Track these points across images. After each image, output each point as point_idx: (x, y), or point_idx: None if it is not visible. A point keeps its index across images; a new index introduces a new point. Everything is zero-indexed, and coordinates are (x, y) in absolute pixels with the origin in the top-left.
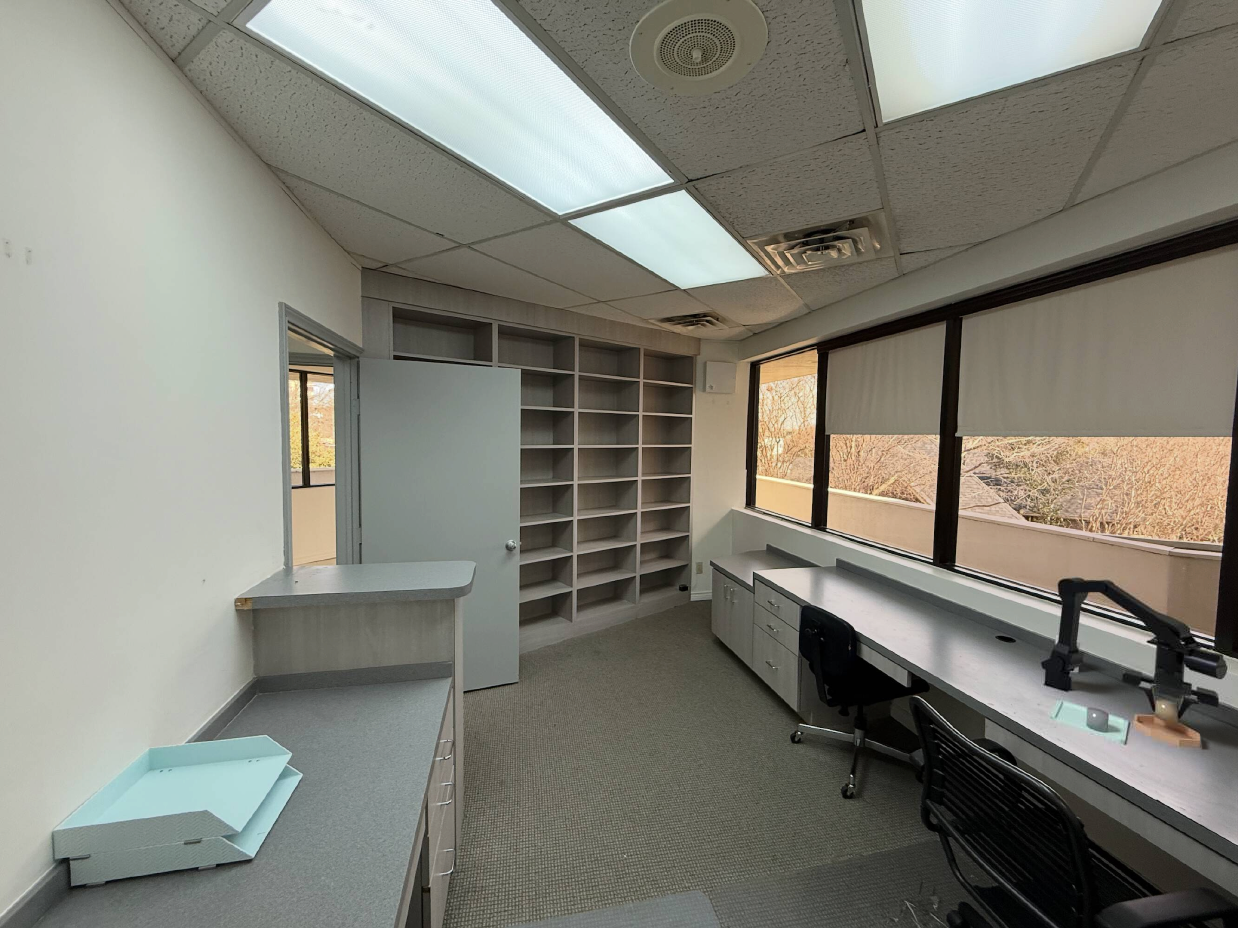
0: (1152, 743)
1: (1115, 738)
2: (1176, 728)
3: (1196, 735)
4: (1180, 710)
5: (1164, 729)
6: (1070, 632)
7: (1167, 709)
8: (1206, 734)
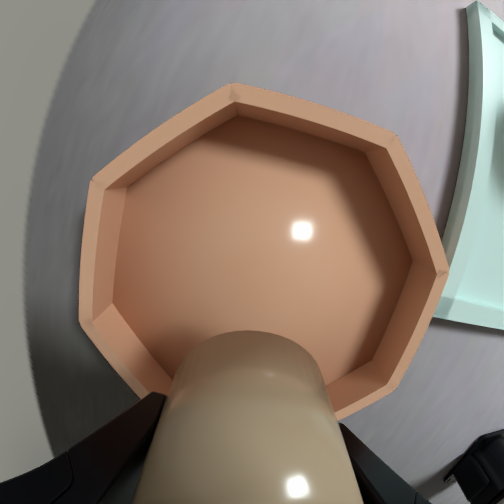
0: (372, 80)
1: (500, 24)
2: None
3: (95, 280)
4: (121, 455)
5: None
6: None
7: (270, 434)
8: (84, 402)
